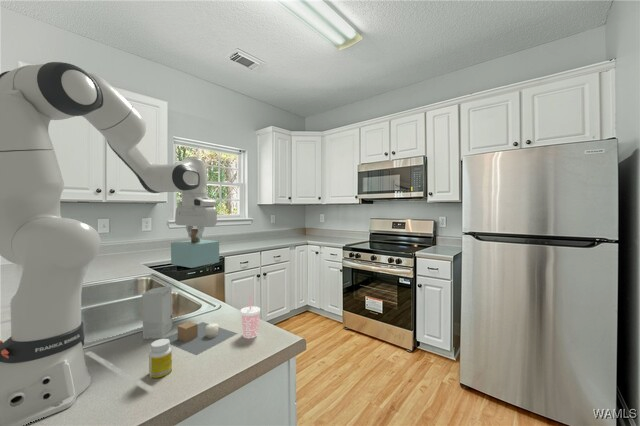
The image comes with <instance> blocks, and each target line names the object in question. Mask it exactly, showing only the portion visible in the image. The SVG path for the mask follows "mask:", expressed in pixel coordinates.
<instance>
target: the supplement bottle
mask: <svg viewBox="0 0 640 426" xmlns="http://www.w3.org/2000/svg"><path fill="white" fill-rule="evenodd" d="M170 345H171V344H170V340H169V339H163V338H159V339H157V340H155V341H153V342H151V343H150V351H149V354H148V358H149V359H148V364H149V365H148V371H149V372H148V374H149V378H151V379H162V378H164V377H166V376H169V375H170V374H171V372H172V360H173V359H172V355H173V353H172V347H170Z"/></svg>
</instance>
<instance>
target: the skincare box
mask: <svg viewBox="0 0 640 426" xmlns="http://www.w3.org/2000/svg"><path fill="white" fill-rule="evenodd" d="M172 290H173V289H172V286H159V287H153V288H151V289H149V290H147V291H146V292H143V293H142V294H141V295H142V296H141V300H142V303H141V304H142V306H141V307H142V310H141V311H142V340H152V339H163V338H165V336H166V334H167V333H168V332H169V331H170V330H171V329H172V328H173V299H172V298H173V297H172V296H173V294H172V292H173V291H172Z"/></svg>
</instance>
